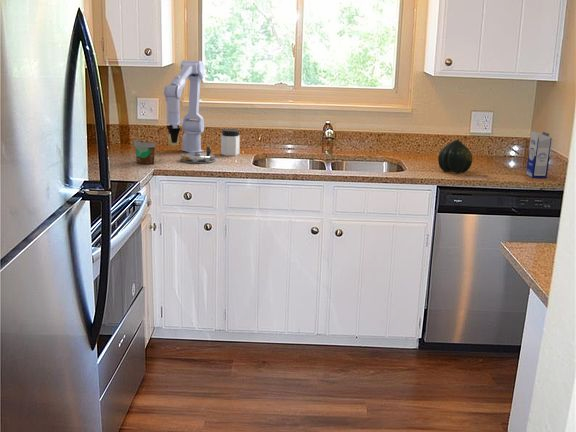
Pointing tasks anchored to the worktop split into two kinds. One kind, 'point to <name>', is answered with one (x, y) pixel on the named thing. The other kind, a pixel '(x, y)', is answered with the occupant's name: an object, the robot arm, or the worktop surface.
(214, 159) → the base plate
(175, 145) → the beige upright block
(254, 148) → the worktop surface
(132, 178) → the worktop surface
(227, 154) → the jar
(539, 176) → the milk carton
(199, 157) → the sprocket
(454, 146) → the squash
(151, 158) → the food container
